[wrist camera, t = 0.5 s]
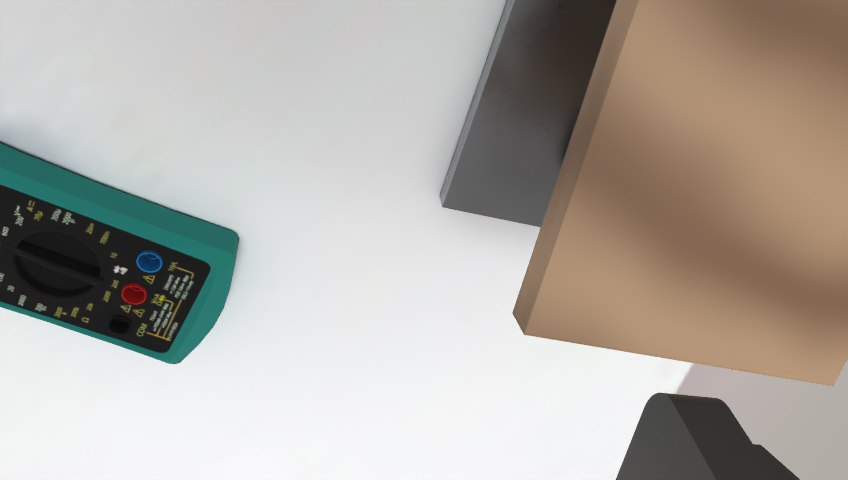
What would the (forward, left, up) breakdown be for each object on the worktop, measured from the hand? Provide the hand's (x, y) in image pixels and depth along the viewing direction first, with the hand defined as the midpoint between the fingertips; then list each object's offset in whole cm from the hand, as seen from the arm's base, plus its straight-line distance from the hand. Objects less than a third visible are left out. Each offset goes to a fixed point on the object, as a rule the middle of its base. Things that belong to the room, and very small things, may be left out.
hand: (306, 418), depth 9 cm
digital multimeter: (+18, -3, -25) cm, 30 cm away
